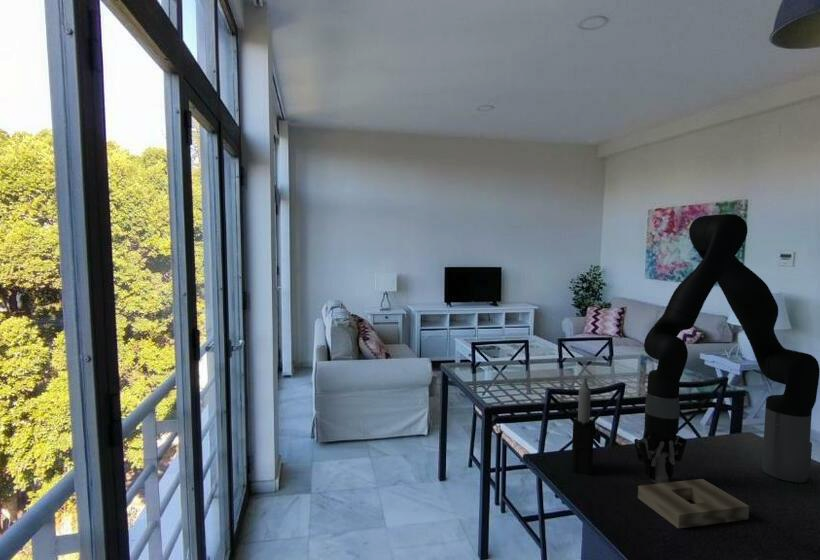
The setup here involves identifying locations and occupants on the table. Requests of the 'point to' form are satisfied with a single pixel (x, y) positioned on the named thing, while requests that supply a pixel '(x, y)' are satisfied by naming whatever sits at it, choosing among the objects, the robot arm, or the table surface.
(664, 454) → the rook chess piece
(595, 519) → the table surface
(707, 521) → the socket board
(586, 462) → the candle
